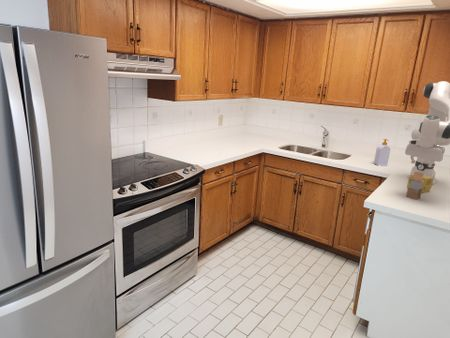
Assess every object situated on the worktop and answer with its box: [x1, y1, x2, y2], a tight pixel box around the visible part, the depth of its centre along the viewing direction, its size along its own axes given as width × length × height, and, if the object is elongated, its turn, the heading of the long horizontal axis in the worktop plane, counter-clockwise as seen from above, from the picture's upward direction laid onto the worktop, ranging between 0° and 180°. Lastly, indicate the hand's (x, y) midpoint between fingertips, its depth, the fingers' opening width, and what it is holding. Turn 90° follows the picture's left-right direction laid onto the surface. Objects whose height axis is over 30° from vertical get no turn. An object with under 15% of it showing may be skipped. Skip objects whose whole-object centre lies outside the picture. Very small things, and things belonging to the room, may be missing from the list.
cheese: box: [406, 174, 434, 194], centre depth 217 cm, size 10×11×10 cm
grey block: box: [409, 180, 423, 190], centre depth 200 cm, size 5×5×5 cm
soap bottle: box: [373, 138, 391, 167], centre depth 277 cm, size 9×7×23 cm
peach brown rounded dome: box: [412, 172, 423, 182], centre depth 198 cm, size 5×5×5 cm
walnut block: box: [405, 188, 422, 201], centre depth 201 cm, size 6×6×6 cm
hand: (420, 165), depth 196 cm, fingers open, 8 cm apart
